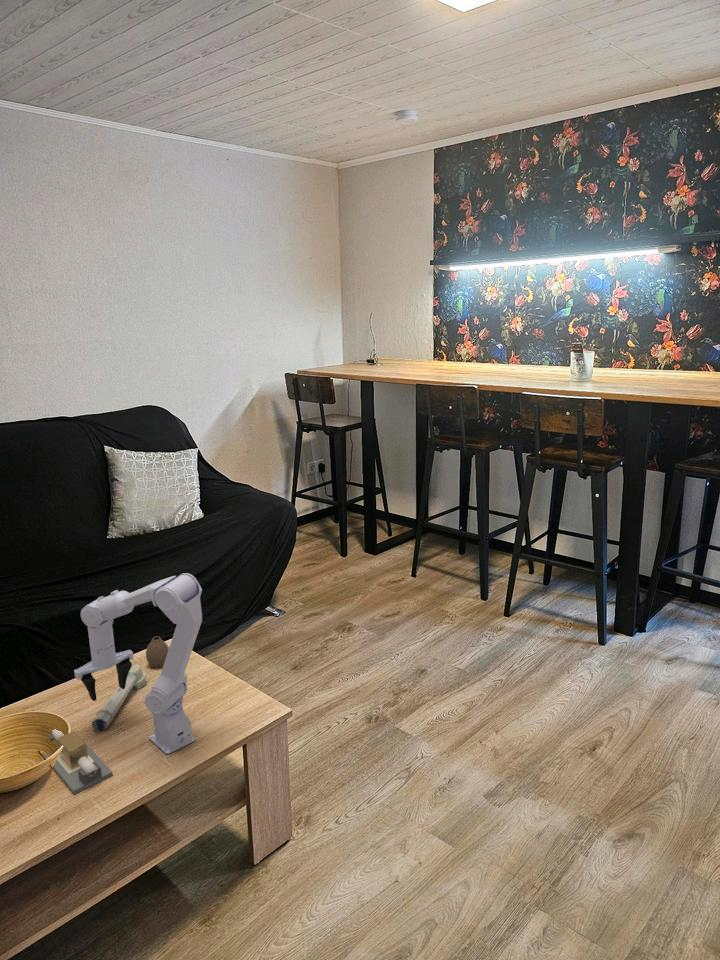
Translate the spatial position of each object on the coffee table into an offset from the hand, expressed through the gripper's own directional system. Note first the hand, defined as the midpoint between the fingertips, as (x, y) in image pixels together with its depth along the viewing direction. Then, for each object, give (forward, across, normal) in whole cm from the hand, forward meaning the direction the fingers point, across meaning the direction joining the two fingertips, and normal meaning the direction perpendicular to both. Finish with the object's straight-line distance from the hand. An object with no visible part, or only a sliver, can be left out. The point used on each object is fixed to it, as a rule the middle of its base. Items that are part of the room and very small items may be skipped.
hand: (108, 693), depth 173 cm
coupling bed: (+9, +13, +8) cm, 18 cm away
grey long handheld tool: (+10, -6, -8) cm, 14 cm away
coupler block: (+8, +13, +8) cm, 17 cm away
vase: (+10, -24, -20) cm, 33 cm away
